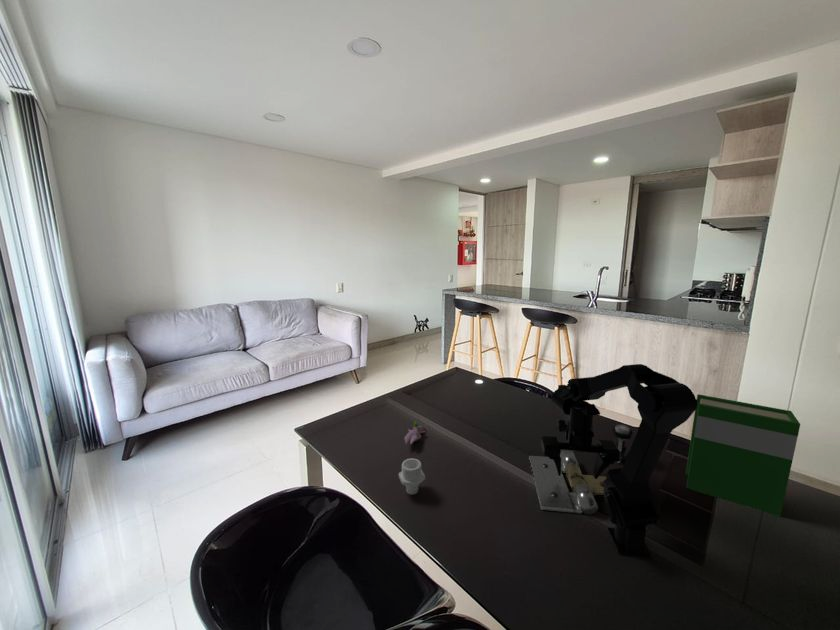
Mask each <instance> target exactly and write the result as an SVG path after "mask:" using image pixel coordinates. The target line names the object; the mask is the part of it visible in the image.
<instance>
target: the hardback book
mask: <svg viewBox="0 0 840 630" xmlns="http://www.w3.org/2000/svg"><path fill="white" fill-rule="evenodd" d="M696 399H697V408H696V410H695V411H694V413H693V414H694V415H693V421H692V428H691V434H690V442H689V448H688V455H687V456H688V457H687V462H686V468H685V476H687V482H686V489H688V488H689V489H688V490H692V491H695V492H698V493H701V494H704V495H707V494H708V495H707V496H711V497H714V498H718V499H720V498H721V500H724V499H725V500H724V501H727V500H728V501H727V502H730V501H731V503H733V502H734V503H733V504H737V505H740V504H741V506H743V505H744V507H746V506H749V507H748V508H750V507H752V508H751V509H753V508H755V509H754V510H756V509H759V510H758V511H760V510H761V511H760V512H763V511H765V512H764V513H766V512H768V513H767V514H769V513H771V514H770V515H773V514H774V515H773V516H776V515H778V516H777V517H779V516H780V517H781V515H782V510H783V506H784V501H785V496H786V493H787V492H786V491H787V489H788V483H789V478H790V474H791V470H792V464H793V460H794V456H795V455H794V454H795V451H796V446H797V441H798V437H799V434H800V433H799V432H800V428H801V422H799V420H798V419H797V417H796V416H795V414H794V413H793V411H792V410H788V409H781V408H776V407H771V406H767V405H766V406H764V405H761V404H753V403H748V402H743V401H738V400H733V399H728V398H727V399H726V398H721V397H717V396H716V397H715V396H709V395H704V394H698V393H697V395H696Z"/></svg>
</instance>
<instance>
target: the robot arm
mask: <svg viewBox="0 0 840 630" xmlns="http://www.w3.org/2000/svg"><path fill="white" fill-rule="evenodd" d="M642 384H644V385H645V386H644V385H642ZM625 387H626V388H627V390H628V395H629V397H630V398H631V399H632V400H633V401H634V402H636V403H637V410H638V412H639V415H640V417H641V421H640V423H639V426H638V429H637V430H636V433H635V436H634V437H633V441H632V442H631V445H630V448H629V451H628V453H627V456H625V459H624V460H625V461H624V462H623V465H622V467H619V468H611V469H609V470H608V471H607V473H606V476H605V477H606V479H605V480H604V481H603V482H604V483H605V486H604V496H603V497H604V505H605V510H606V511H605V512H606V515H608V517H609V521H610V522H611V523H612V524H614V527H608V528H607V532H608V534H609V535H610V538H611V541H612V543H613V545H614V547H615V549H616V552H617V553H618V554H620V555H621V554H622V555H626V556H627V555H629V556H637V557H646V558H651V557H652V553H651V551H650V549H649V548H648V546H647V543H646V535H647V526H648V525H657V524H658V523H659V521H660V520H661V517H660V514H659V512H658V510H657V508H656V505H655V504H654V501H653V499H652V495H653V490H652V489H653V488H651V487H652V486H651V485H650V483H649V481H650V478H651V476H652V475H653V472H654V470H655V467H656V466H657V464H658V461H659V460H660V458H661V455H662V453H663V452H664V451H663V450H664V449H665V446H666V444H667V442H668V439H669V437H670V435H671V433H672V432H673V431H674V430H676V428H679V426H681V425H682V424H684V423H685V422H687V421H688V420H689V419H690V418H691V416H692V415H693V414H694V413H695V410H696V408H697V398H696V396H695V394H694V392H693V391H692V389H691V388H689V387H688V386H687V385H686V384H684V383H682V382H679V381H678V380H677V379H675V378H673V377H671V376H668V375H666V374H663V373H660V372H657V371H655V370H653V369H652V368H650V367H649V366H647V365H646V364H642V363H637V364H624V365H622V366H620V367H619V368H616V369H613V370H610V371H607V372H604V373H601V374H598V375H595V376H588V377H587V376H586V377H579V378H577V377H575V378H570V379H568V381H567V384H559V385H558V388H557V389H556V390H555V391H553V393H552V395H551V396H550V400H551V403H552V405H554V406H555V407H556V408H557V409H559V411H561V412H562V413H564V415H567V416H569V420H568V421H567V422H566V420H564V419H556V431H557V432H559V433H563V435H564V439H565V440H566V441H567V442H561V441H560V442H559V440H558V438H557V436H542V437H541V438H540V447H541V450H542V453H543V456H544V457H549V459H553V460H554V462H555V465H556V469H557V472H558V475H559V476H560V475H561V457H560V453H561V452H562V451H572V452H573V453H574V452H575V453H576V452H578V453H595V463H594V468H593V476H594V478H595V479H597V478H598V477H599V476H601V474H602V473H603V472H604V471H605V470H606V469H607V468H608V467H609V466H610V465H614V464H615V462H616V463H617V462H619V461H620V460H621V452H620V450H619V449H618V447H617V446H616V445H615V444H616V443H615V442H614V441H613V440H610V439H598V440H596V441H597V442H596V444H593V438H594V437H595V433H594V419H595V416H599V415H601V412H600V410H599V409H598V408H597V406H596V405H595V404H594V403H592V404H591V403H590V402H588V401H595V400H599V399H601V398H602V397H604V396H605V395H606V393H608V392H610V391H615V390H619V389H622V388H625Z"/></svg>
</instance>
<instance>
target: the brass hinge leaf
mask: <svg viewBox="0 0 840 630" xmlns="http://www.w3.org/2000/svg"><path fill="white" fill-rule="evenodd" d="M565 473H566V474H565V475H566V478H567V481H568V483H569V485H570V488H571V491H572V493H574V486H575V485H577V484H579V483H584V484H586V485H588V486H589V488H590V490H591V492H592V494H597V495H604V486H605V483H604V482H603V481H604V480H605V479H606V477H607V476H603V475H599V477H598V478H597V479H595V478H594V474H593V475H591V474H583V473H582V470H581V468H579V467H578V466H577V465H574V464H571V465H568V466H567V467H566V468H565Z"/></svg>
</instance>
